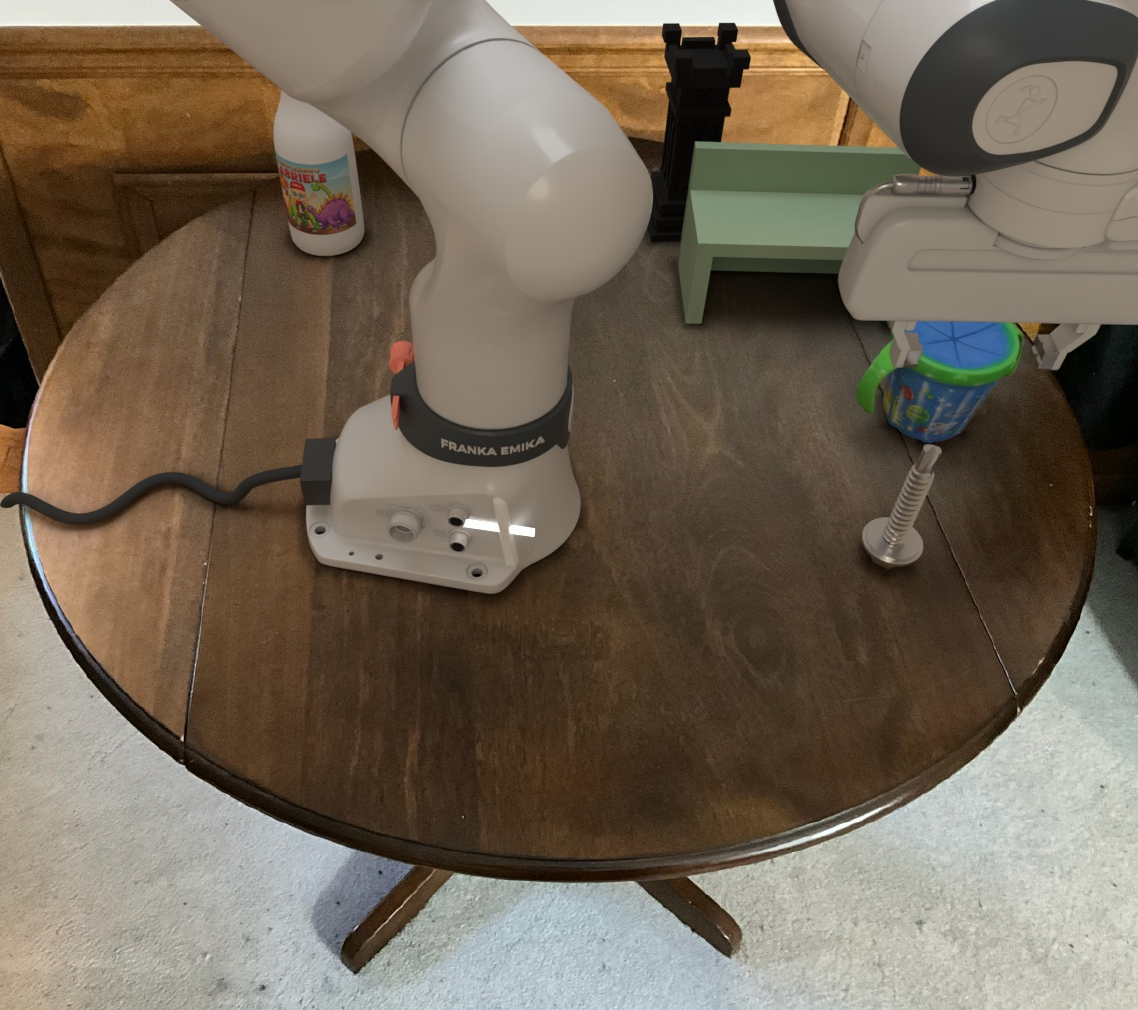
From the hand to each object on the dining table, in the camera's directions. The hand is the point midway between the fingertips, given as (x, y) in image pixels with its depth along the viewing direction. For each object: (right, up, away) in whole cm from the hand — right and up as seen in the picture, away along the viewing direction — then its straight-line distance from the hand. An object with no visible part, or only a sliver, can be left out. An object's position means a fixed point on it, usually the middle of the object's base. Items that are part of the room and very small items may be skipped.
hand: (972, 362), depth 69 cm
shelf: (-4, +12, +38) cm, 40 cm away
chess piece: (-14, +22, +46) cm, 53 cm away
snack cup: (+6, -1, +27) cm, 27 cm away
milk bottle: (-52, +19, +42) cm, 69 cm away
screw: (-1, -14, +16) cm, 21 cm away
